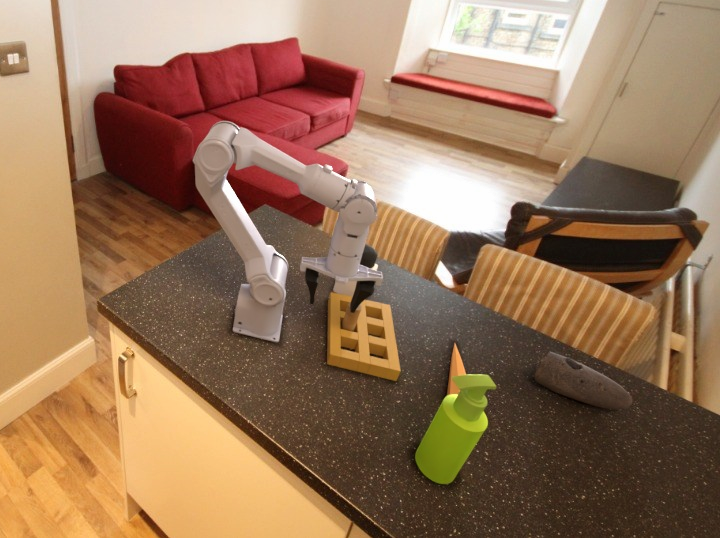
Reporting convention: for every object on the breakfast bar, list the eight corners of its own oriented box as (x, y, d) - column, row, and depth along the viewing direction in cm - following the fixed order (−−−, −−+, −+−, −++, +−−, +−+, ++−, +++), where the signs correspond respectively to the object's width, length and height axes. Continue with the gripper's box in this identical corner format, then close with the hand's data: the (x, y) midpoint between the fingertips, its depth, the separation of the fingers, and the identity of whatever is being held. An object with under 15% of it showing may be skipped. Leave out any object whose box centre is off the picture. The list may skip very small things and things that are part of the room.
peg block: (327, 364, 85) (330, 354, 84) (328, 301, 101) (330, 291, 100) (396, 381, 83) (400, 371, 82) (386, 314, 99) (390, 304, 97)
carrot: (463, 428, 76) (483, 415, 74) (440, 410, 77) (459, 397, 75) (456, 354, 93) (472, 342, 91) (437, 341, 94) (453, 328, 92)
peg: (339, 337, 92) (348, 308, 88) (339, 328, 94) (348, 299, 90) (352, 340, 91) (362, 311, 87) (351, 331, 93) (361, 302, 89)
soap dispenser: (402, 447, 72) (444, 362, 62) (442, 445, 73) (490, 361, 63) (420, 485, 67) (469, 399, 57) (462, 483, 68) (518, 398, 58)
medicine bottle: (370, 288, 106) (384, 247, 100) (362, 304, 101) (376, 262, 95) (341, 276, 109) (353, 235, 103) (332, 291, 104) (344, 250, 98)
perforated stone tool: (619, 404, 82) (640, 380, 79) (625, 427, 78) (647, 402, 75) (526, 366, 89) (541, 342, 85) (527, 385, 85) (543, 360, 81)
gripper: (304, 252, 77) (292, 310, 84) (391, 269, 75) (372, 327, 81) (306, 231, 83) (295, 287, 90) (387, 245, 81) (369, 302, 87)
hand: (331, 304), depth 86 cm, fingers open, 7 cm apart
